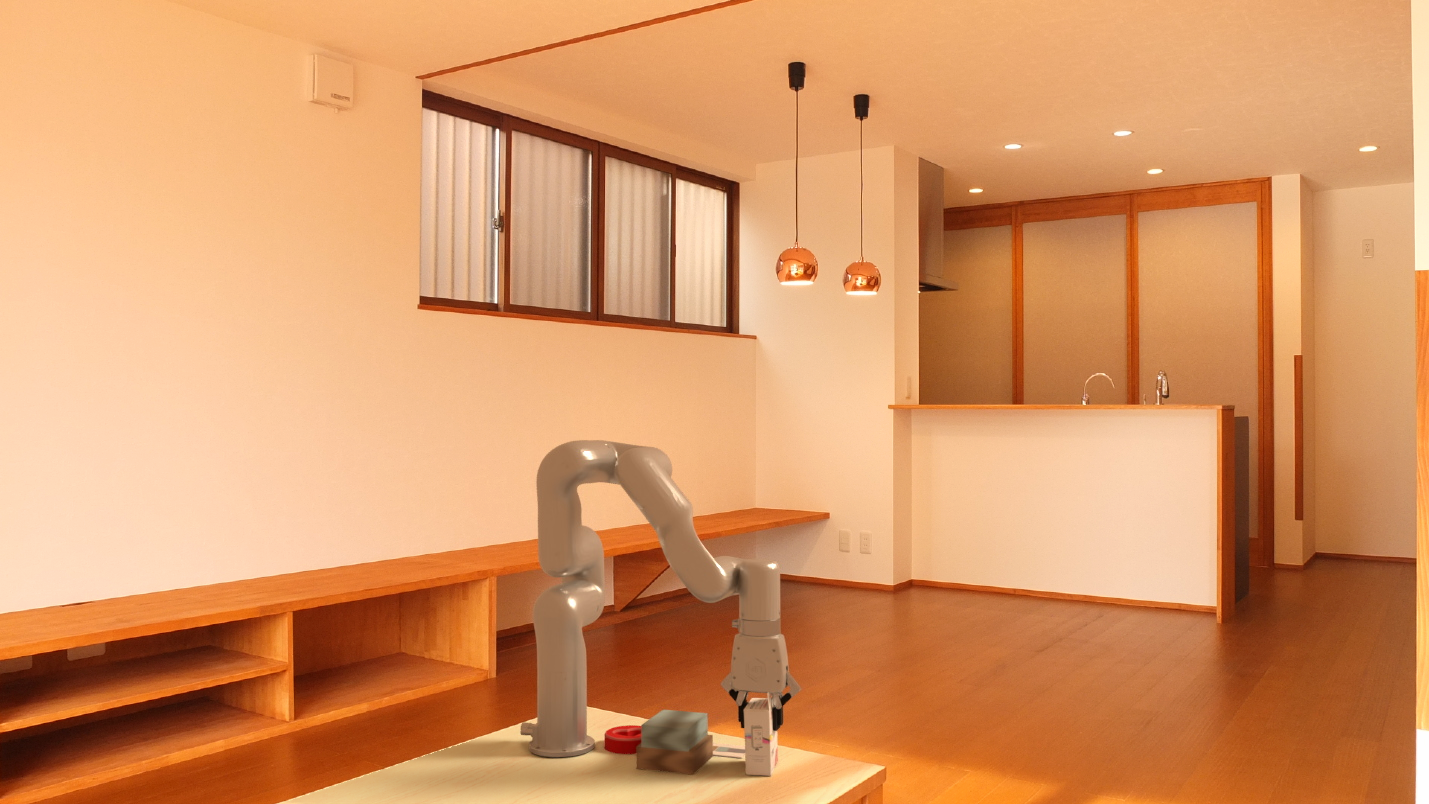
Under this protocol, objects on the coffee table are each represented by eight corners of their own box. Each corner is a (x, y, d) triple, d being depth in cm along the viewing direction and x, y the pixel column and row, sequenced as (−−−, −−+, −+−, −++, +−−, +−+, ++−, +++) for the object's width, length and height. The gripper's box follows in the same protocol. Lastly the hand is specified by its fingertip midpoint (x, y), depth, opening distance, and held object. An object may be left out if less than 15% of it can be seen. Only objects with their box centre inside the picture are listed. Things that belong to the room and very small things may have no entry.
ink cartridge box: (752, 760, 193) (750, 680, 194) (778, 761, 192) (777, 681, 193) (744, 775, 185) (742, 692, 185) (771, 776, 184) (770, 693, 184)
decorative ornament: (623, 759, 195) (623, 742, 195) (594, 747, 203) (594, 731, 203) (663, 748, 202) (663, 732, 202) (634, 737, 209) (634, 721, 209)
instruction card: (691, 753, 198) (691, 752, 198) (703, 742, 204) (703, 741, 204) (741, 758, 194) (741, 756, 194) (751, 747, 201) (751, 746, 201)
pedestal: (636, 768, 189) (636, 724, 189) (658, 751, 199) (658, 709, 199) (693, 774, 185) (693, 729, 186) (712, 756, 196) (712, 713, 196)
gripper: (709, 628, 188) (709, 729, 188) (800, 634, 183) (801, 737, 183) (721, 621, 196) (722, 718, 195) (810, 626, 190) (811, 726, 190)
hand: (760, 726), depth 189 cm, fingers closed on ink cartridge box, 5 cm apart
